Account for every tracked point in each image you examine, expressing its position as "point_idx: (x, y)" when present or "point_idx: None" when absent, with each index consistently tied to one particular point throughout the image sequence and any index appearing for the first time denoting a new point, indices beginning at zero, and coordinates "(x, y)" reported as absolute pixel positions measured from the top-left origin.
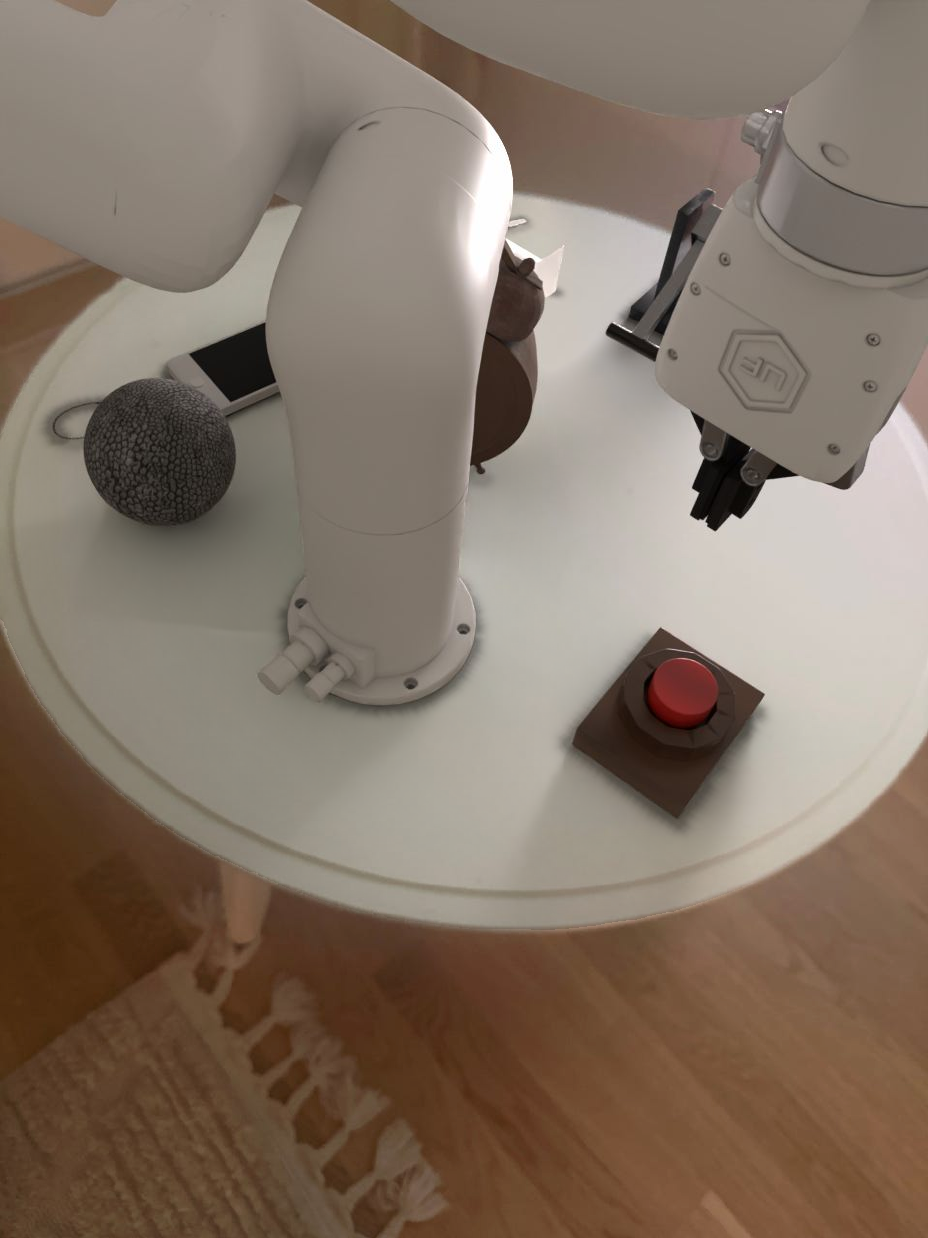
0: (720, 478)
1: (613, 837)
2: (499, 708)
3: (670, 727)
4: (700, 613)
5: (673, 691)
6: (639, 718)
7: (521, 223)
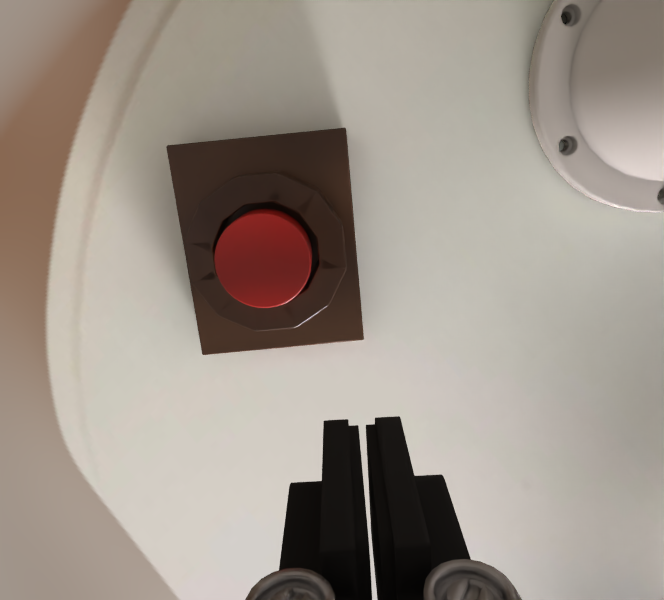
0: (380, 531)
1: (218, 62)
2: (449, 98)
3: None
4: (345, 403)
5: (268, 240)
6: (284, 184)
7: None
